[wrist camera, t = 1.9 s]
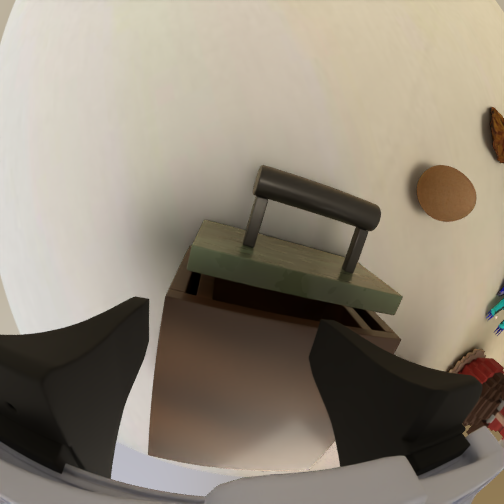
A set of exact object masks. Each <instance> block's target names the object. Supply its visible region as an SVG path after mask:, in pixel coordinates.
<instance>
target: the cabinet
mask: <svg viewBox="0 0 504 504" xmlns="http://www.w3.org/2000/svg"><path fill="white" fill-rule="evenodd" d="M191 247H192V246H189V248H188V250H187V252H186V254H185V256H184V258H183V260H182V262H181V264H180V266H179V268H178V271H177V273H176V275H175V277H174V279H173V281H172V283H171V285H170V288H169V290H168V292H167V294H166V296H165V301H164V307H163V313H162V320H161V326H160V333H159V340H158V347H157V355H156V363H155V371H154V380H153V390H152V401H151V413H150V427H149V445H148V455H150V456H154V457H158V458H163V459H167V460H172V461H177V462H183V463H188V464H194V465H201V466H208V467H216V468H226V469H237V470H254V471H300V470H310V469H311V468H312V467H313V466H314V465H315V463H316V462H317V461H318V460H319V459H320V458H321V457H322V456H323V454H324V453H325V452H326V451H327V450H328V449H329V447H330V446H331V445H332V444H333V442H334V441H335V436H334V432H333V428H332V424H331V421H330V418H329V415H328V412H327V410H326V407H325V405H324V403H323V400H322V398H321V395H320V393H319V390H318V388H317V385H316V383H315V380H314V378H313V375H312V371H311V367H310V362H309V354H310V351H311V348H312V345H313V342H314V339H315V336H316V333H317V330H318V327H319V323H320V322H319V321H313V320H308V319H302V318H297V317H292V316H287V315H281V314H276V313H271V312H266V311H262V310H257V309H252V308H247V307H243V306H238V305H234V304H229V303H225V302H221V301H216V300H212V299H208V298H204V297H200V296H196V294H197V290H198V286H199V281H200V277H201V274H200V273H196V272H192V271H189V270H187V264H188V260H189V256H190V251H191ZM352 308H353V307H352ZM353 309H354V310H355V311H356V312H357V314H358V315H359V316H360V317H361V318H362V319H363V320H364V322H365V323H366V324H367V325H368V326H369V327H370V328H371V330H369V329H362V328H356V327H349V326H346V327H347V328H349V329H350V330H352V331H354V332H355V333H357V334H358V335H360V336H362V337H363V338H365V339H366V340H368V341H370V342H371V343H373V344H375V345H376V346H378V347H380V348H382V349H384V350H385V351H387V352H389V353H391V354H394V353H395V351H396V349H397V347H398V345H399V343H400V342H401V339H400V338H399V337H398V335H397V334H396V333H395V332H394V331H393V330H392V329H391V328H390V327H389V326H388V325H387V324H386V323H385V322H384V321H383V320H382V319H381V318H380V317H379V316H378V315H377V314H376V313H375V312H374V311H369V310H364V309H358V308H353Z"/></svg>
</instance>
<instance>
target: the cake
mask: <svg viewBox="0 0 504 504" xmlns="http://www.w3.org/2000/svg"><path fill="white" fill-rule="evenodd" d="M484 352H485V351H483V350H482V349H474V351H473V352H472V353H469V352H468V353H467V355H466V357H464V356H463V358H462V360H461V361H458V362H457V364H456V365H455V367H454V369H450V371H449V373H456V374H464V375H472V376H474V377H475V378H476V379H477V380H478V381H479V382H480V383H481V384H482V393H481V396H480V398H479V400H478V402H477V403H476V405H475V406H474V408H473V409H472V411H471V412H470V413H469V415H468V416H467V418H466V419H465V420H464V421H463V425H464V426H467V425H470V426H471V425H472V426H471V427H470V428H469V430H468V431H467V433H468V435H469V434H470V433H472V432H474V431H476V430H477V429H479V428H481V427H483V426H486V427H487V428H488V427H489V428H490V429H491V430H494V431H499V433H500V434H501V435H502V436H503V438H502V439H501V440H500V441H499V443H500V444H501V446H502V447H503V448H504V371H503V369H504V368H503V367H502V366H501V365H500V364H499V363H498V362H496V361H495V360H494V359H492V358H485V357H486V355H484Z"/></svg>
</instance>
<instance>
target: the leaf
mask: <svg viewBox="0 0 504 504" xmlns="http://www.w3.org/2000/svg"><path fill="white" fill-rule="evenodd" d="M491 108H492V110H491V113H492V121H491V122H490V127H491V128H492V131H491V132H492V137H493V148H494V150H495V151H496V154H497V155H498V158H497V159H498V161H500V163H504V118H503V116H502V115H501V114H500V113H499V112H498V111H497V110H496V109H495V108H494V107H491Z"/></svg>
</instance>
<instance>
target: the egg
mask: <svg viewBox="0 0 504 504" xmlns="http://www.w3.org/2000/svg"><path fill="white" fill-rule="evenodd" d="M417 197H418V200H419V203H420V205H421V207H422V208H423V210H424V211H425V212H426V213H427V214H428V215H429V216H431V217H432V218H434V219H436V220H439V221H444V222H450V221H456V220H459V219H462V218H464V217H465V216H467V215H468V214H469V213H470V212H471V211H472V210H473V208H474V206H475V204H476V192H475V189H474V186H473V184H472V183H471V182H470V180H469V179H468V178H467V177H466V176H465V175H464V174H463V173H461V172H460V171H458V170H457V169H455V168H452V167H450V166H445V165H437V166H433V167H431V168H429V169H428V170H426V171H425V172H424V173H423V174H422V176H421V177H420V179H419V181H418V184H417Z"/></svg>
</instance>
